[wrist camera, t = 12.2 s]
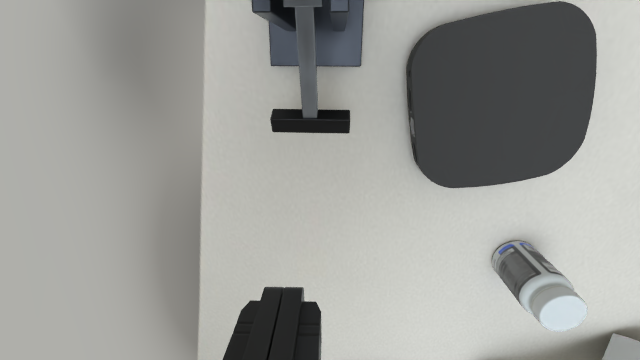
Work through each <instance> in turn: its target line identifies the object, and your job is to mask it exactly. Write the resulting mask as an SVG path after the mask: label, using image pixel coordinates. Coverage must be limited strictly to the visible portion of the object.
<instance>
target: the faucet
mask: <svg viewBox="0 0 640 360" xmlns="http://www.w3.org/2000/svg"><path fill="white" fill-rule="evenodd" d="M602 360H640V341H637V340H634V339H631V338H628V337H625V336H622V335H618V334H614V333H613V335H612V337H611V339H610V342H609V344H608V347H607V349H606V351H605V354H604V356H603V359H602Z"/></svg>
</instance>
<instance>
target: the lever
mask: <svg viewBox="0 0 640 360" xmlns="http://www.w3.org/2000/svg"><path fill="white" fill-rule="evenodd" d="M282 1H283V6H284V7H295V18H296V32H297V46H298V59H299V73H300V86H301V100H302V109H273V111H272V115H271V119H270V120H271V126H272V131H273V132H296V133H349V130H350V110H318V93H317V59H316V25H315V7H322V6H323V0H282Z"/></svg>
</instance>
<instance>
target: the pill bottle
mask: <svg viewBox="0 0 640 360" xmlns="http://www.w3.org/2000/svg"><path fill="white" fill-rule="evenodd" d="M492 265H493V268H494V270H495V271H496V273H497V274H498V275H499V276H500V278H501V279H502V280H503V282H504V283H505V284H506V286H507V287H508V288H509V290H510V291H511V292H512V294H513V295H514V296H515V298H516V299H517V300H518V302H519V303H520V304H521V306H522V307H523V308H524V309H525V310H526V311H528V312H529V313H531V314H533V315H534V316H535V318H536V319H537V320H538V321H539V322H540V323H541V325H542V326H544V327H545V328H546V329H548V330H551V331H557V332H560V331H567V330H570V329H572V328H574V327H576V326H578V325H579V324H580V323H581V322H582V321H583V320H584V319H585V317H586V315H587V305H586V303H585V302H584V301H583V299H582V298H581V297H580V296H579V295H578V294H577V293H576V292H574V289H573V286H572V284H571V283H570V281H569V280H568V279H567V278H566V277H565V276H564V275H563V274H562V273H560V272H559V271H558V270H557V269H556V268H555V267H554V266H553V265H552V264H551V263H550V262H548V261H547V260H546V259H545V258H544V257H543V256H542V255H541V254H540V253H539V252H538V251H537V250H536V249H535V248H534V247H533V246H531V245H530V244H528V243H526V242H522V241H514V242H509V243H506V244H504V245H502V246H501V247H500V248H498V249H497V251H496V252H495V253H494V255H493V259H492Z"/></svg>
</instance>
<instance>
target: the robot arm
mask: <svg viewBox="0 0 640 360" xmlns="http://www.w3.org/2000/svg"><path fill="white" fill-rule="evenodd" d="M223 360H321V311H320V309H319V307H318V305H317V303H316V302H304V288H303V287H285V288H284V287H265V288H264V291H263V294H262V297H261V300H260V301H250V302H249V303H248V304H247V305H246V306H245V307H244V308H243V309H242V310H241V313H240V315H239V318H238V321H237V324H236V326H235V329H234V331H233V334H232V337H231V339H230V342H229V344H228V347H227V350H226V352H225V355H224V358H223Z"/></svg>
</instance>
